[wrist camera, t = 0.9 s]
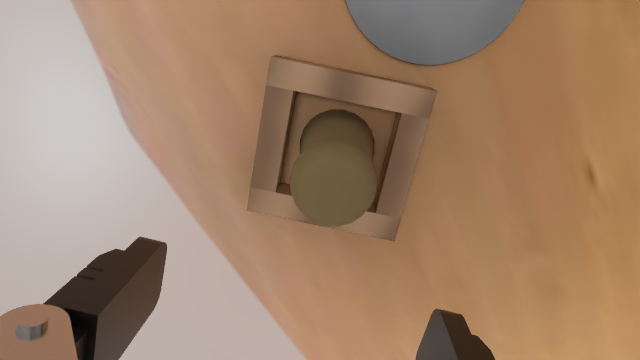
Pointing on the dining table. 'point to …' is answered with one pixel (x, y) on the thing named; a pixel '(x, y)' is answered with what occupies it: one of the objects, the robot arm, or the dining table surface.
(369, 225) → the holder board
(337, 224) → the cork
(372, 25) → the slate coaster
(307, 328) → the dining table surface
